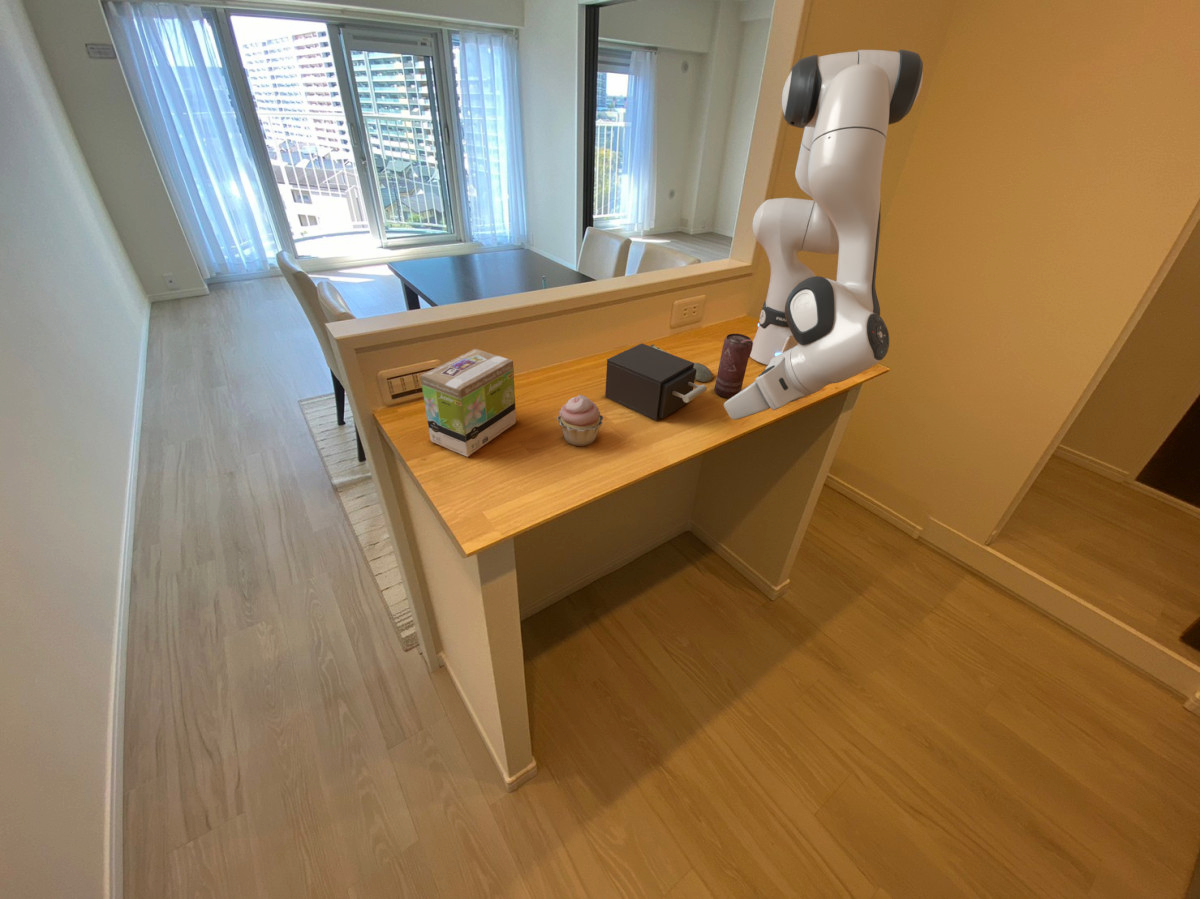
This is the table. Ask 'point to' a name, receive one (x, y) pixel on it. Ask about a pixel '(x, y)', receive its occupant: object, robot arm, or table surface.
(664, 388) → the dark drawer with handle
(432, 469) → the table surface
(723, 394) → the can
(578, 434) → the cupcake
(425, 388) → the tea box
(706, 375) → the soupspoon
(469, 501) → the table surface
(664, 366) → the black drawer box
